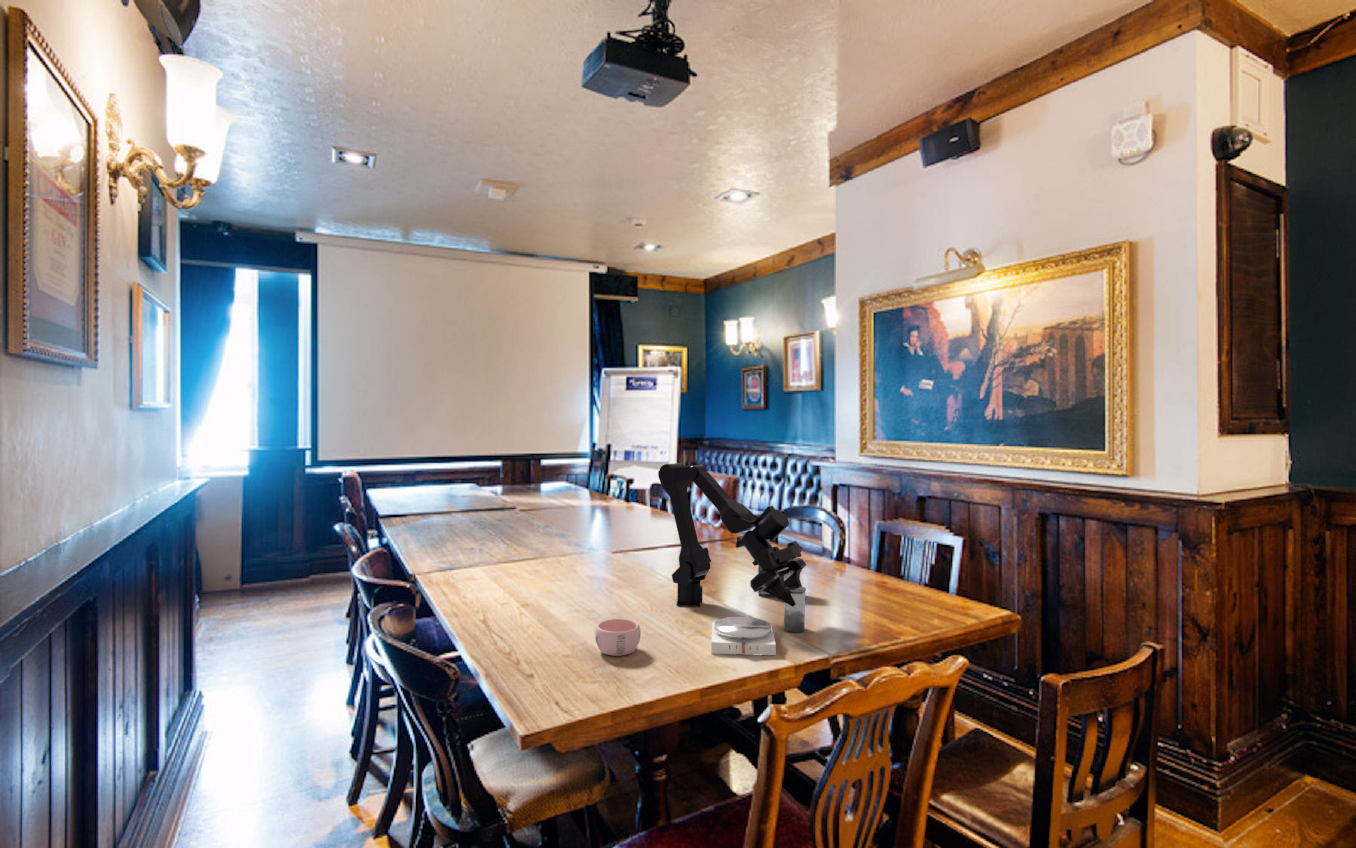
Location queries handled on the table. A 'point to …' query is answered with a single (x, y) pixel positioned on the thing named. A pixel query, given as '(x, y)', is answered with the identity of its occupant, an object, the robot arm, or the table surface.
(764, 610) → the table surface
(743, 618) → the scale pan
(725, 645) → the base
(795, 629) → the steel weight
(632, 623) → the mug
